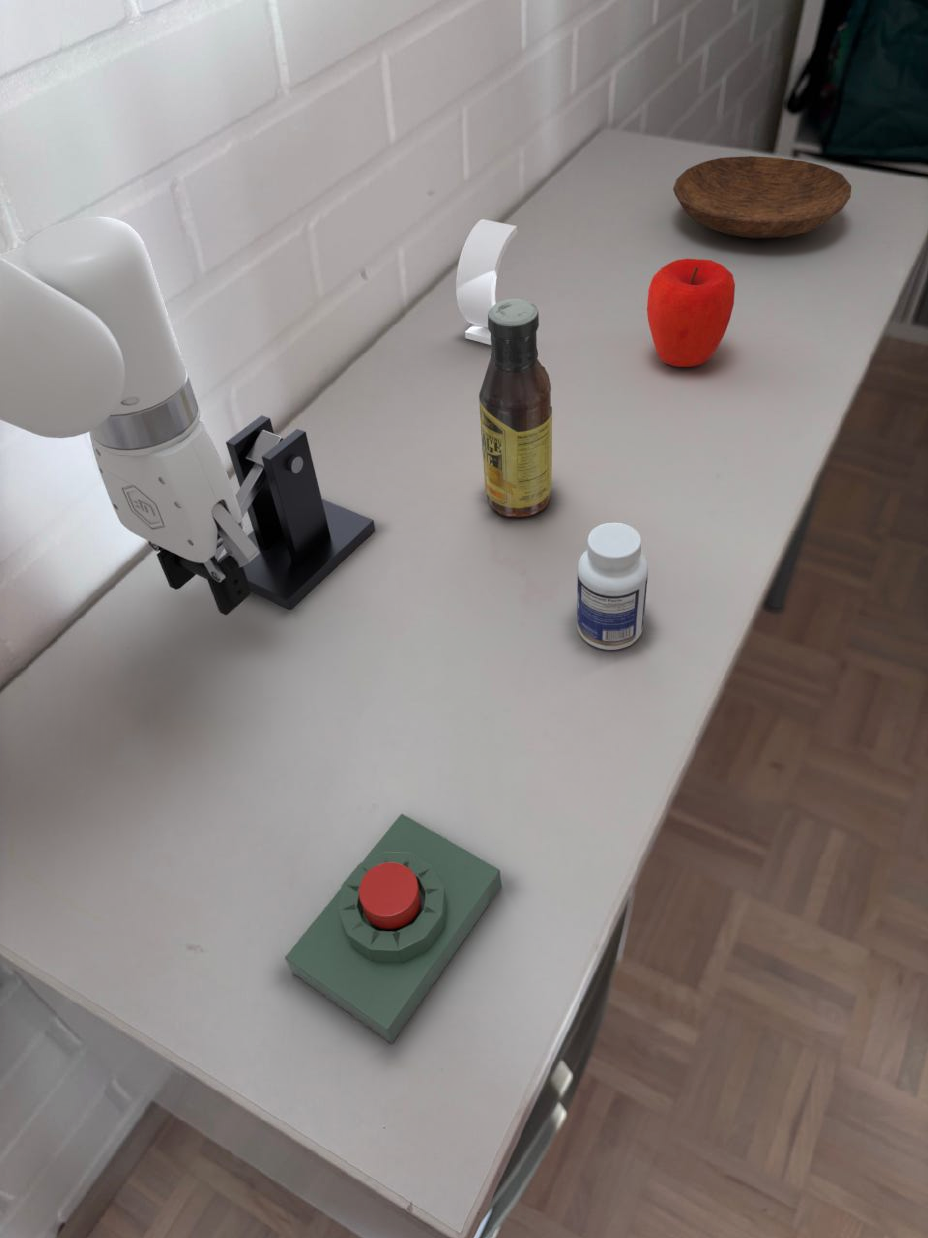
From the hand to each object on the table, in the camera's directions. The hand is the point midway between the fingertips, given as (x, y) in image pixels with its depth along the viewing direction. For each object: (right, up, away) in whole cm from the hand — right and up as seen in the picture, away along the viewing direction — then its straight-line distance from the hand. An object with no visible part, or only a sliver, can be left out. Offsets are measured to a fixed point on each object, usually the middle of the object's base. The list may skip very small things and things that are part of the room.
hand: (210, 589), depth 79 cm
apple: (+45, +26, +25) cm, 58 cm away
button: (+17, -20, -21) cm, 33 cm away
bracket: (+6, +4, +8) cm, 11 cm away
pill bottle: (+33, -3, -1) cm, 33 cm away
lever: (+3, +6, 0) cm, 7 cm away
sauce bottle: (+26, +8, +11) cm, 30 cm away
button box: (+17, -22, -18) cm, 33 cm away
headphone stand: (+24, +31, +32) cm, 50 cm away
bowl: (+60, +49, +46) cm, 90 cm away
